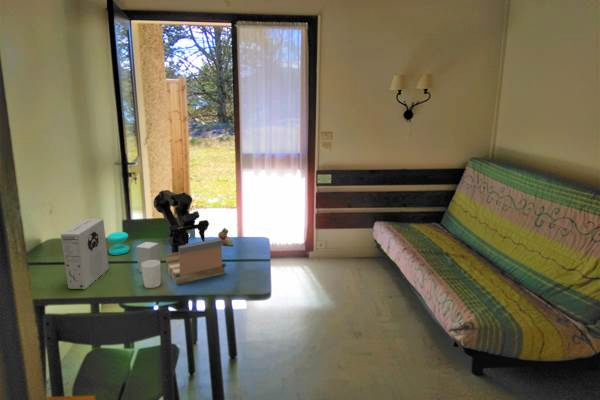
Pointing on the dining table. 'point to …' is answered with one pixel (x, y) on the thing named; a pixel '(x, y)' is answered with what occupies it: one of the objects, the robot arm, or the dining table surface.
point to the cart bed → (174, 272)
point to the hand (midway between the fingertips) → (194, 243)
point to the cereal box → (85, 253)
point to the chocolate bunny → (225, 238)
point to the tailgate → (200, 256)
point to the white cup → (151, 273)
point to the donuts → (118, 248)
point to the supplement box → (147, 253)
